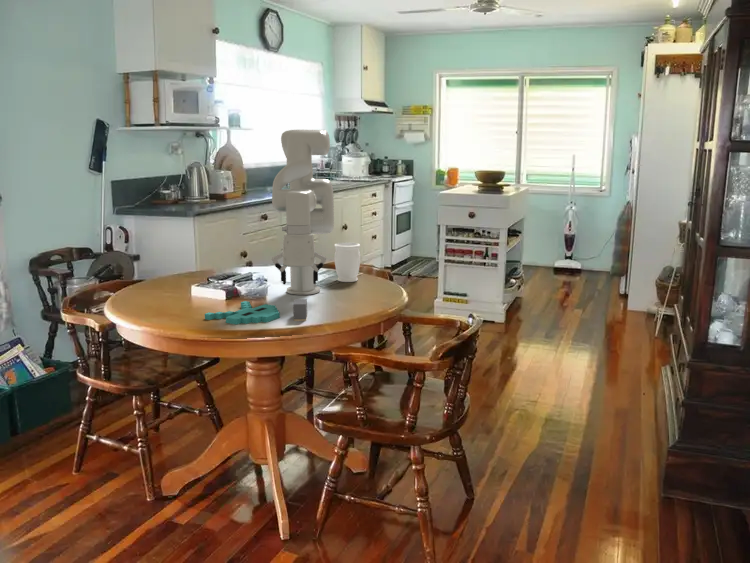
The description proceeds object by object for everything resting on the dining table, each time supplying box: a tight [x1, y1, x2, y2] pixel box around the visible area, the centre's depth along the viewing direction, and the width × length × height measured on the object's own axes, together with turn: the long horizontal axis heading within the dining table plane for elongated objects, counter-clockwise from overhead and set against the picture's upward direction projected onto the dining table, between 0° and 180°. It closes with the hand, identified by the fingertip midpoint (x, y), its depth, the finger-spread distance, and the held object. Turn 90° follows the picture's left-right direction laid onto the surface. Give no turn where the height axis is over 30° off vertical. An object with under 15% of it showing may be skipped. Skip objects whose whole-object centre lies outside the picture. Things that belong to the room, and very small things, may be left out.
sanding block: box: [292, 298, 308, 322], centre depth 221 cm, size 7×4×6 cm, turn 3°
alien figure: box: [204, 300, 281, 325], centre depth 224 cm, size 20×2×20 cm
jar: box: [333, 242, 361, 283], centre depth 278 cm, size 11×10×15 cm
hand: (299, 283), depth 219 cm, fingers open, 9 cm apart
